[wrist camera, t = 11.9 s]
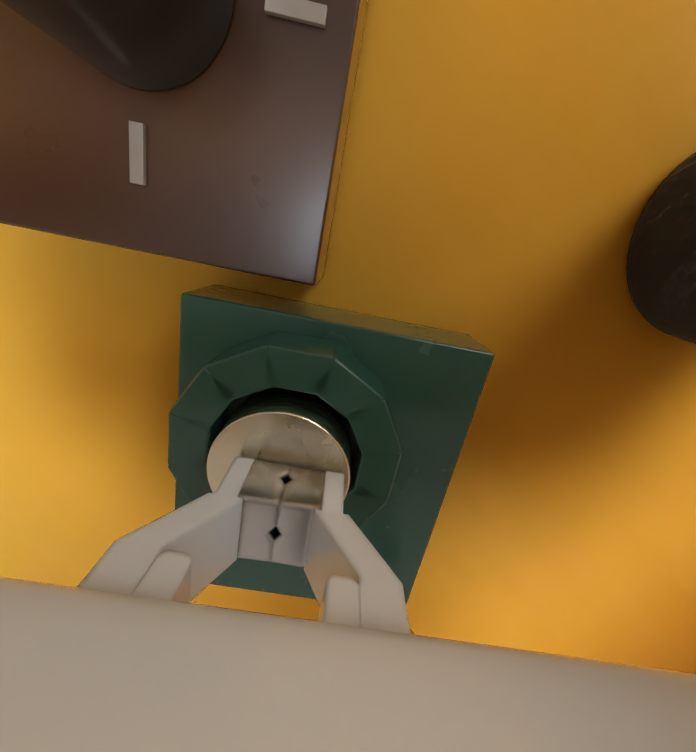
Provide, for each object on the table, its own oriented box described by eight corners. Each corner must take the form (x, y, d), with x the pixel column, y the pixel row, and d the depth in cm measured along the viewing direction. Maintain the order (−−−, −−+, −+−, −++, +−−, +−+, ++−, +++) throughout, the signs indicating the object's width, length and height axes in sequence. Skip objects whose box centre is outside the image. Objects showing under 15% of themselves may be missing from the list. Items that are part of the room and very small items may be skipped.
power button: (231, 376, 10) (209, 399, 9) (361, 399, 11) (364, 426, 9) (222, 484, 12) (202, 521, 10) (338, 502, 12) (336, 542, 10)
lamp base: (213, 284, 13) (147, 301, 9) (469, 334, 14) (522, 373, 9) (198, 530, 17) (148, 622, 13) (396, 560, 18) (410, 658, 14)
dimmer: (-8, -318, 8) (-208, -634, 5) (401, -200, 9) (426, -425, 6) (44, 222, 12) (-52, 214, 9) (322, 278, 13) (314, 287, 10)
